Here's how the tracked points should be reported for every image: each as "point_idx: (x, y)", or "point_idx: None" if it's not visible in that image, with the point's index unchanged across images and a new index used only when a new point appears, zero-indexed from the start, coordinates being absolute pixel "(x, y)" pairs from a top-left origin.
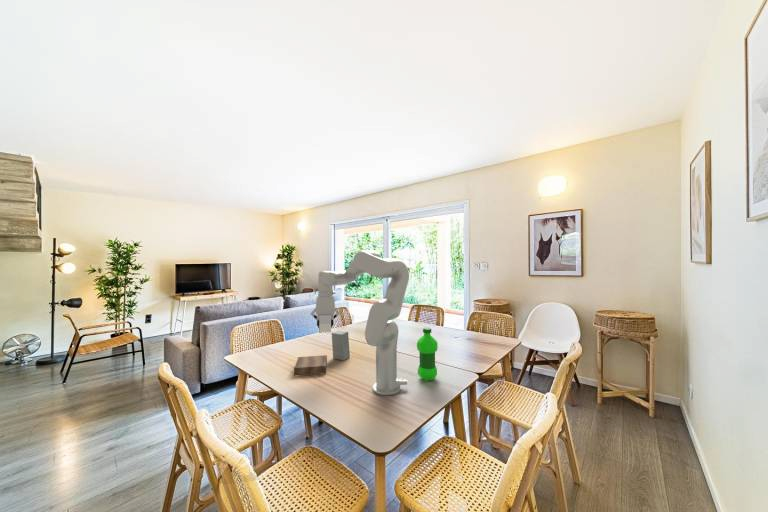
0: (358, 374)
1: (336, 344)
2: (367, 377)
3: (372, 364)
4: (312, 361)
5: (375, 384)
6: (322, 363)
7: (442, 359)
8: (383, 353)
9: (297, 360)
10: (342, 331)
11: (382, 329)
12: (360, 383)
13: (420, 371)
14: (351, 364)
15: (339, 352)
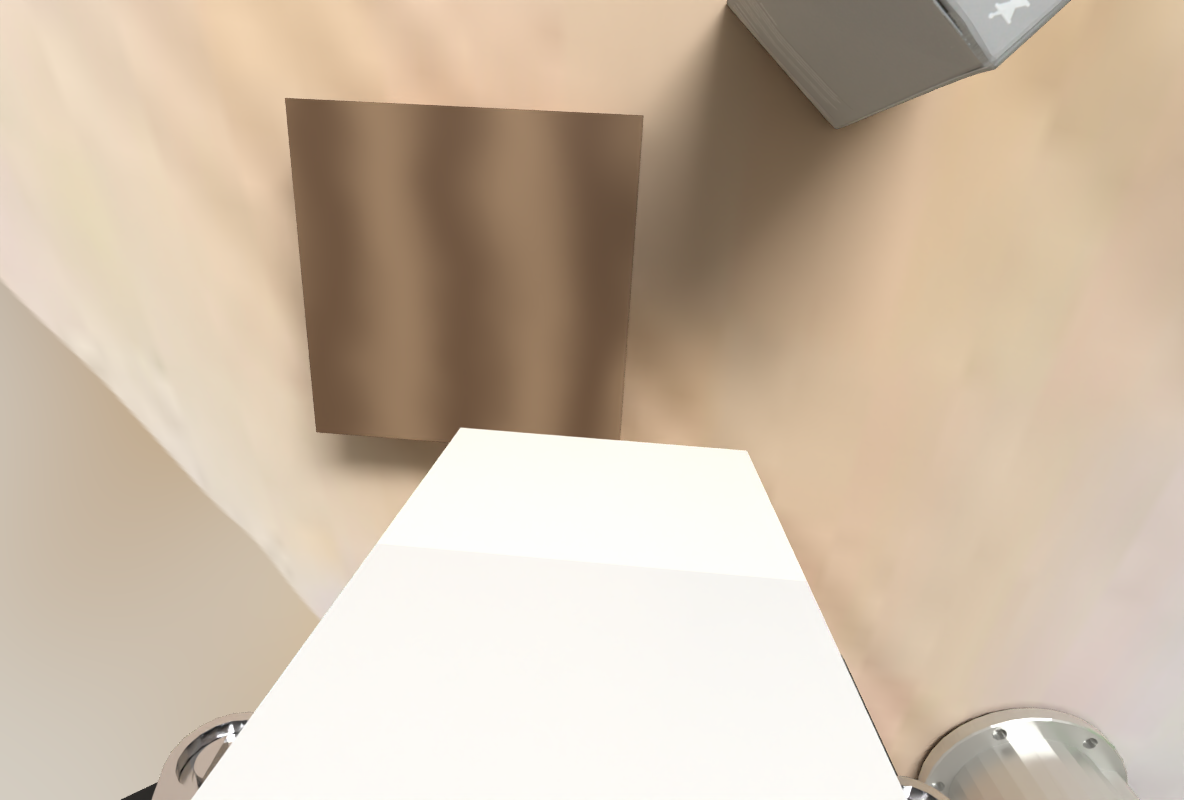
0: (897, 519)
1: (814, 14)
2: (952, 590)
3: (1121, 327)
4: (474, 301)
5: (961, 753)
6: (584, 386)
7: None
8: None
9: (301, 223)
10: None
11: None
12: (865, 665)
13: None
14: (899, 270)
15: (822, 79)
